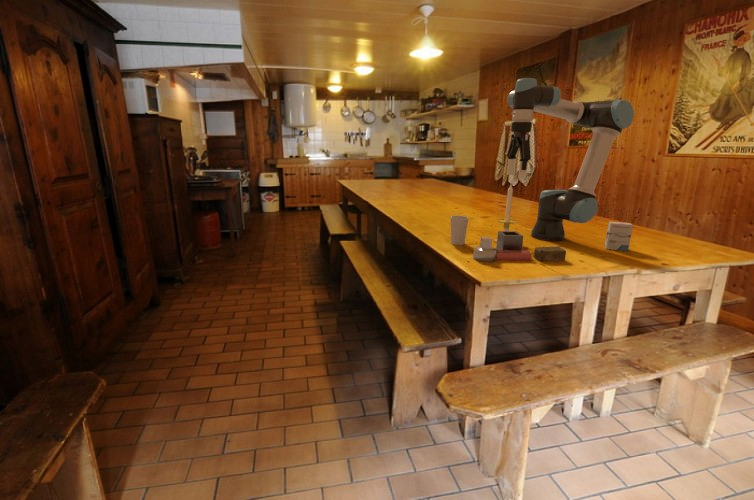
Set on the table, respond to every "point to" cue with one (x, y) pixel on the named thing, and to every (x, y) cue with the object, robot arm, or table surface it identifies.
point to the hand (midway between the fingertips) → (515, 176)
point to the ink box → (618, 236)
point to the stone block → (549, 254)
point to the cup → (458, 229)
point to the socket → (509, 240)
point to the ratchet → (498, 253)
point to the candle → (507, 212)
